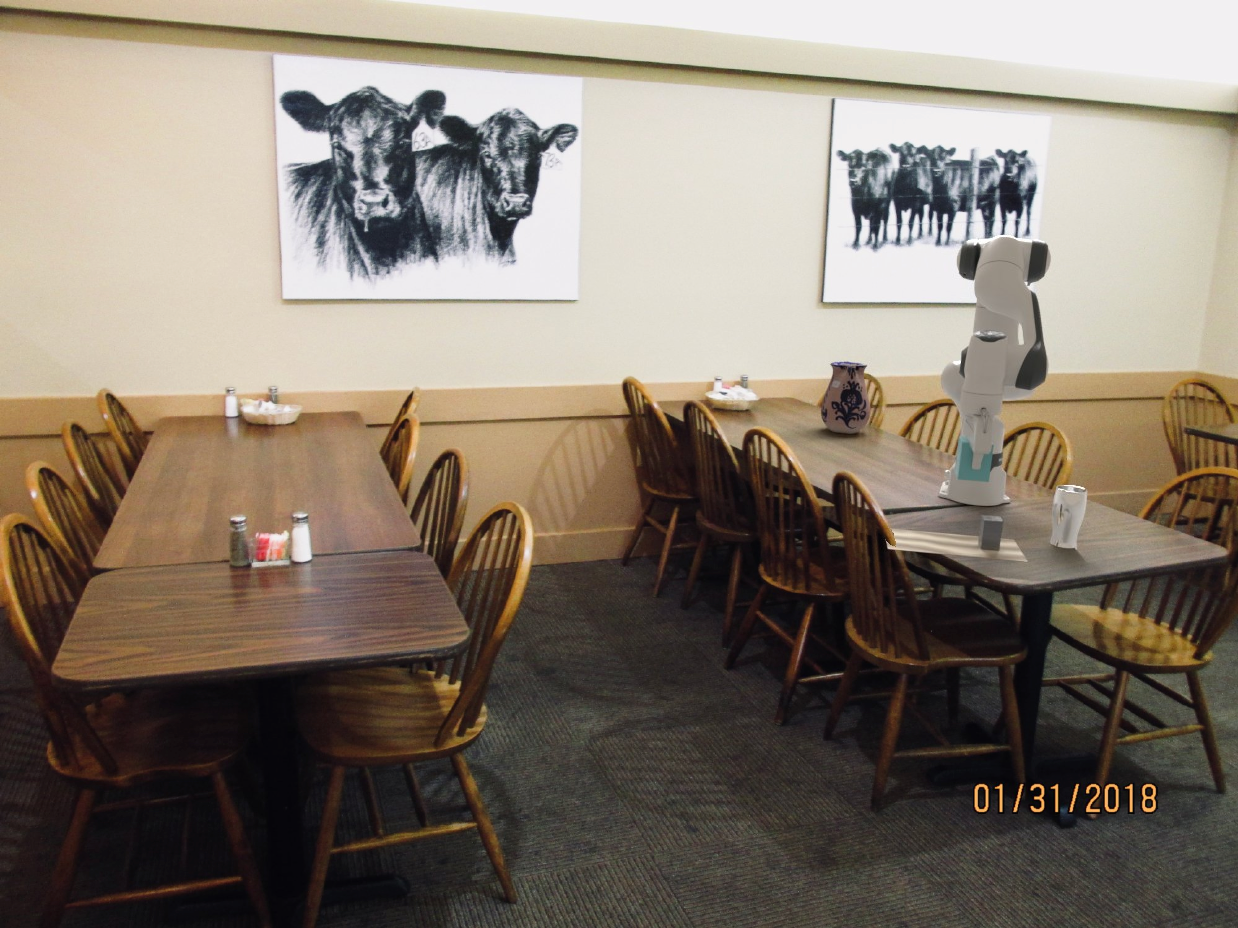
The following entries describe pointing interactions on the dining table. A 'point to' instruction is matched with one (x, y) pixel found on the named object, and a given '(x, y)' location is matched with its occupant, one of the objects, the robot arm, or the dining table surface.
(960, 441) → the turquoise rectangular block
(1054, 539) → the beer glass
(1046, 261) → the robot arm
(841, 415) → the ceramic pitcher
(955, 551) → the birch board
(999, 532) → the steel post
